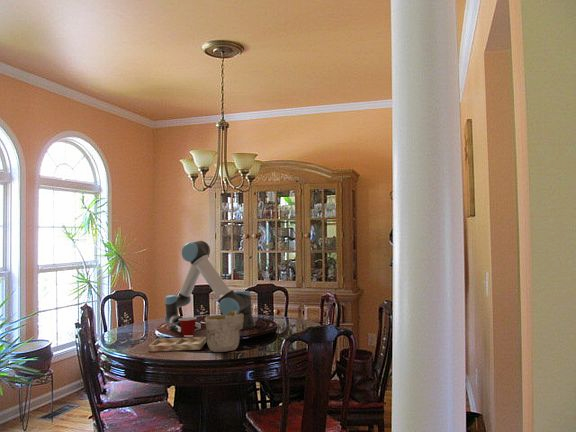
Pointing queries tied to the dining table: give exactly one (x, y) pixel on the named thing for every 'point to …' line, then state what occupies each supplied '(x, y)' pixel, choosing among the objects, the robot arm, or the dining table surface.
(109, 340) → the dining table surface
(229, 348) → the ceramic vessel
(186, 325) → the plastic cup
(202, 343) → the wooden compartment tray
